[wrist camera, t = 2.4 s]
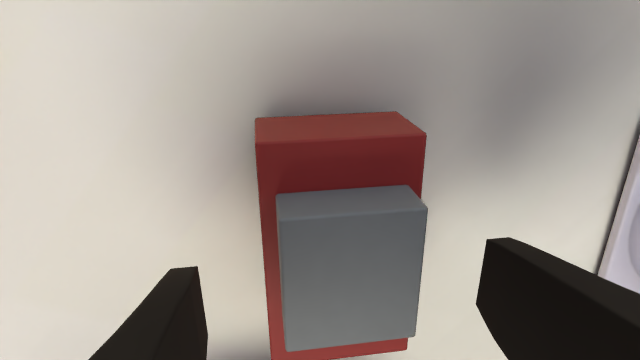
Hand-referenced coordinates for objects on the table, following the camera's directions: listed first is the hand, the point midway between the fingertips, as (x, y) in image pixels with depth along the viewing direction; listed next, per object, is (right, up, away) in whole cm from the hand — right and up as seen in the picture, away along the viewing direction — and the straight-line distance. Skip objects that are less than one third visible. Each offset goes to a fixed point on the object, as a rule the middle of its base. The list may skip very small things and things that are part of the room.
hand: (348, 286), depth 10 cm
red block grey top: (-1, +2, +4) cm, 4 cm away
